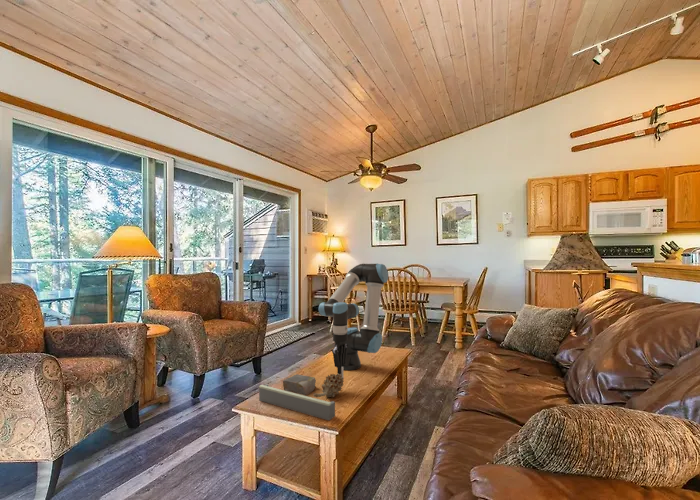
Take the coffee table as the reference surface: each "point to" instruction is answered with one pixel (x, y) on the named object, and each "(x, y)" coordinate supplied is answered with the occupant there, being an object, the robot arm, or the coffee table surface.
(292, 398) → the end rail
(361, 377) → the coffee table surface
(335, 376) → the pine cone
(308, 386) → the geological specimen
